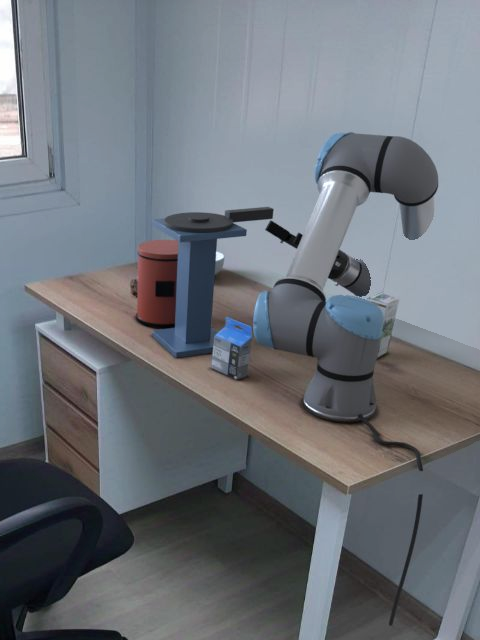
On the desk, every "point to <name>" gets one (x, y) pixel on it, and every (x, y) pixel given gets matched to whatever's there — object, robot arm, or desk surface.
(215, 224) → the lid
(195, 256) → the stand
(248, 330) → the label tape box
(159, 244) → the red banded canister
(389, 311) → the syrup box
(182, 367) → the desk surface
